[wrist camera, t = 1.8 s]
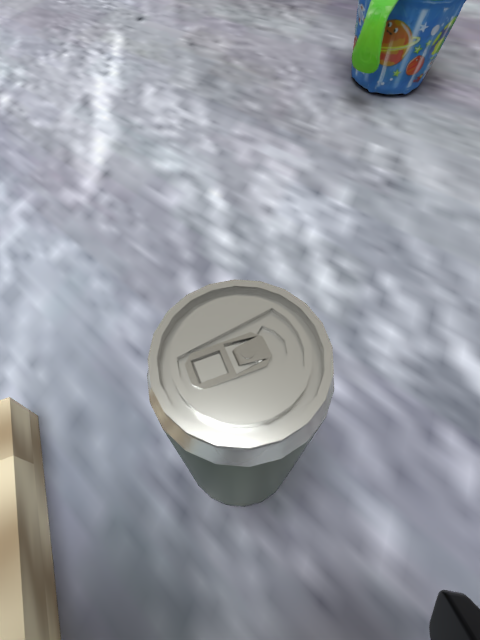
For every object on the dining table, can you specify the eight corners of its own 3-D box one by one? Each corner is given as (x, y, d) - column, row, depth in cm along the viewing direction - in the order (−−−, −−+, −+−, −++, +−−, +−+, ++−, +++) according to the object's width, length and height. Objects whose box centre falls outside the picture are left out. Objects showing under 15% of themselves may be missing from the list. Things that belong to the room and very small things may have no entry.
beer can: (209, 526, 18) (173, 498, 8) (177, 425, 21) (118, 306, 11) (307, 481, 19) (384, 406, 9) (264, 390, 22) (287, 253, 12)
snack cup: (382, 41, 46) (415, -78, 37) (462, 71, 42) (520, -54, 33) (302, 89, 40) (320, -39, 31) (388, 129, 36) (435, -4, 27)
